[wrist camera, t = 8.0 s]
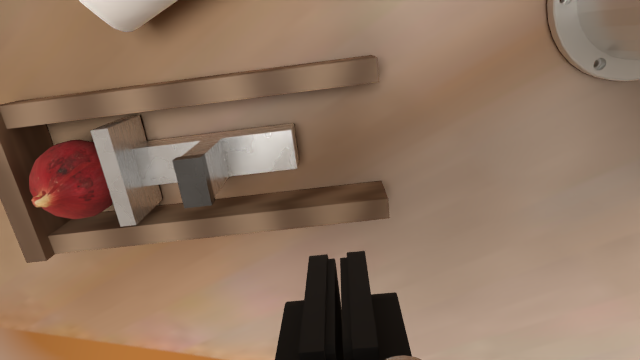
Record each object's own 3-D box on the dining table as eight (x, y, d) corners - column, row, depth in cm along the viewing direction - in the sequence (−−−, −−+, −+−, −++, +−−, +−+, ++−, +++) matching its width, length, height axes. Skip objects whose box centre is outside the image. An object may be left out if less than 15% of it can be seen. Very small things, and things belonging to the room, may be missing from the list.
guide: (371, 55, 31) (379, 58, 26) (382, 198, 34) (391, 223, 30) (17, 101, 32) (-36, 111, 27) (66, 233, 36) (26, 262, 31)
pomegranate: (85, 116, 33) (13, 140, 25) (150, 155, 34) (99, 190, 26) (58, 173, 34) (-18, 212, 27) (120, 209, 35) (64, 256, 28)
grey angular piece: (289, 96, 31) (278, 114, 24) (302, 183, 34) (295, 225, 26) (124, 117, 32) (62, 141, 25) (148, 200, 35) (98, 246, 27)
